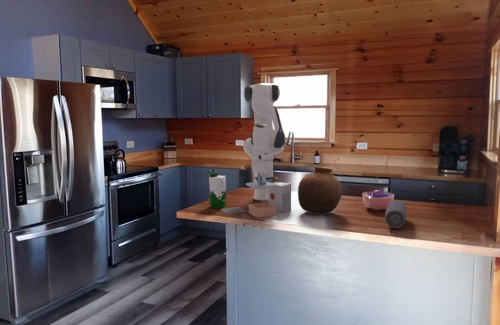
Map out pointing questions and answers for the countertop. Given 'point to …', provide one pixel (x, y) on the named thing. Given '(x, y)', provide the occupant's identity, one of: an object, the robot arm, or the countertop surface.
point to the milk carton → (217, 191)
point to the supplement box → (281, 197)
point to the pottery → (319, 191)
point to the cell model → (377, 199)
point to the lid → (261, 184)
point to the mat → (233, 210)
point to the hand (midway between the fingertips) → (261, 181)
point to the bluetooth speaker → (395, 214)
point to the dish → (262, 210)
